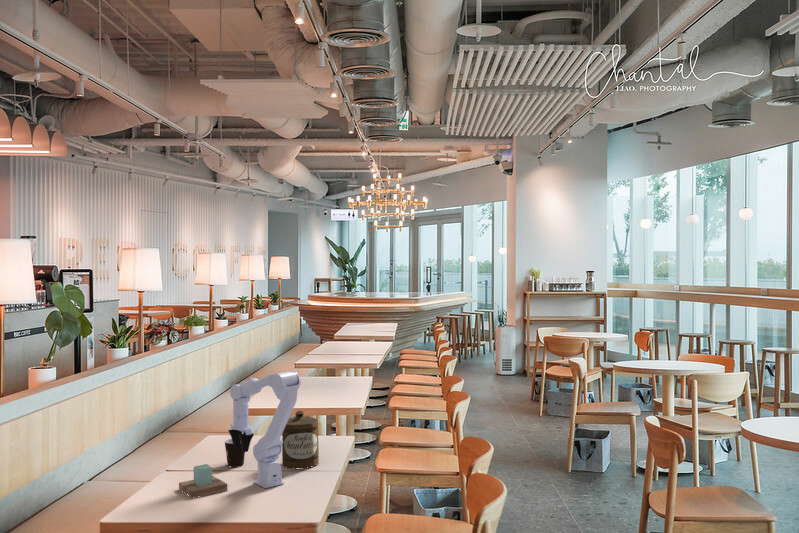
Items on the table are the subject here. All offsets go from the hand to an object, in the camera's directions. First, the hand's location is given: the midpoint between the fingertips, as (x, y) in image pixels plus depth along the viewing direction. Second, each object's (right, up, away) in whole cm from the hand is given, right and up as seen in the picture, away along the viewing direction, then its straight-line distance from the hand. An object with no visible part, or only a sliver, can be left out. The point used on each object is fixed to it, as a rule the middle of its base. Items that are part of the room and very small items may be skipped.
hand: (240, 449), depth 263 cm
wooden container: (+21, -10, +16) cm, 28 cm away
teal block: (-10, -8, -16) cm, 21 cm away
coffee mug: (-6, -11, +18) cm, 22 cm away
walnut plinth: (-10, -10, -16) cm, 22 cm away
